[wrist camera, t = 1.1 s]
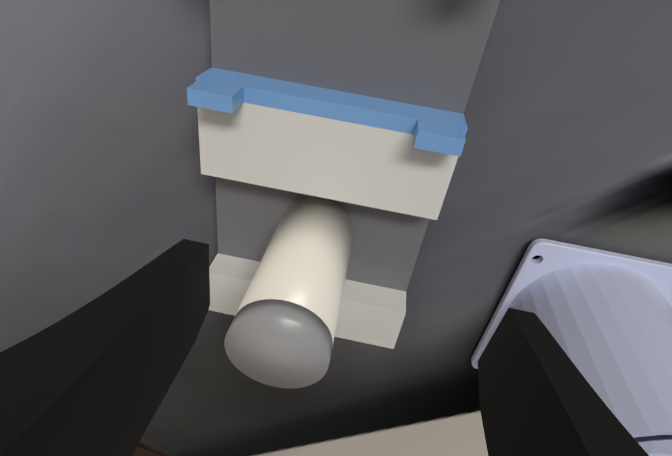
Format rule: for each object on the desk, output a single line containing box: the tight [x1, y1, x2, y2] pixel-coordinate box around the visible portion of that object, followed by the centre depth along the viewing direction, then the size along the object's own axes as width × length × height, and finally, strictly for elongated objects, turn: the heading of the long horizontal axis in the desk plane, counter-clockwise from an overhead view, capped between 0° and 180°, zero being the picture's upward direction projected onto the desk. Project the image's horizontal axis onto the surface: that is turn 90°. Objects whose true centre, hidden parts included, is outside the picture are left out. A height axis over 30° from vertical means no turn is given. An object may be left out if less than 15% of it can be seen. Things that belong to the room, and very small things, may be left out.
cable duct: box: [187, 0, 500, 349], centre depth 17 cm, size 20×10×4 cm, turn 172°
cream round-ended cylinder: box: [224, 197, 354, 389], centre depth 17 cm, size 4×4×8 cm
